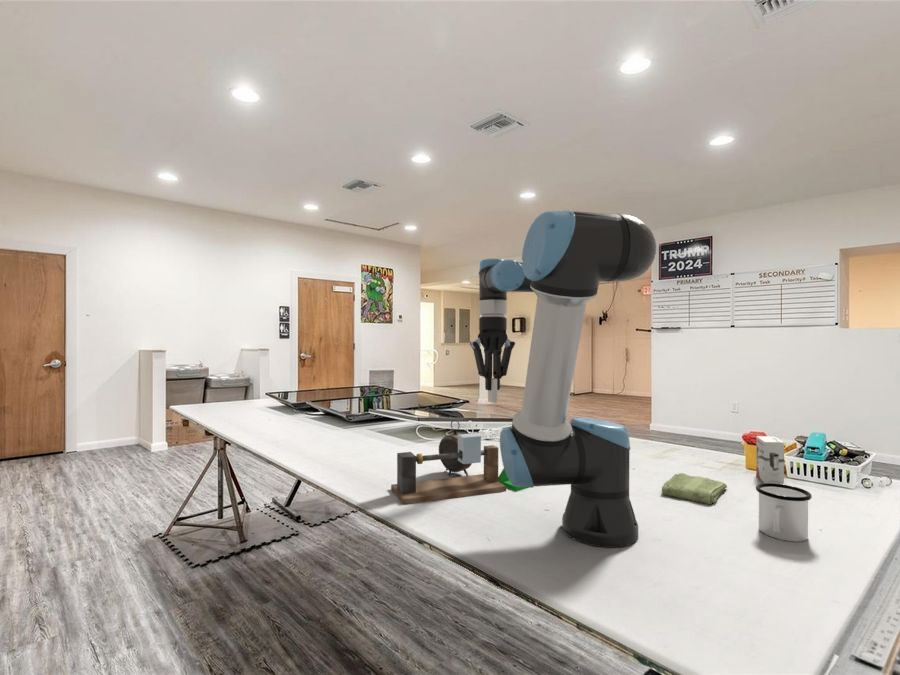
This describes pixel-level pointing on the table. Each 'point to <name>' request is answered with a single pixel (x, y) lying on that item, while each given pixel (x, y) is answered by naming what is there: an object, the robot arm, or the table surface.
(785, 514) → the mug
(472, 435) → the light blue block
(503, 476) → the bracket
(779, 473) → the ink box
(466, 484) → the wooden slider rail stand
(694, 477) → the washcloth
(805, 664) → the table surface
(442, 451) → the alarm clock
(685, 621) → the table surface
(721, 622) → the table surface
